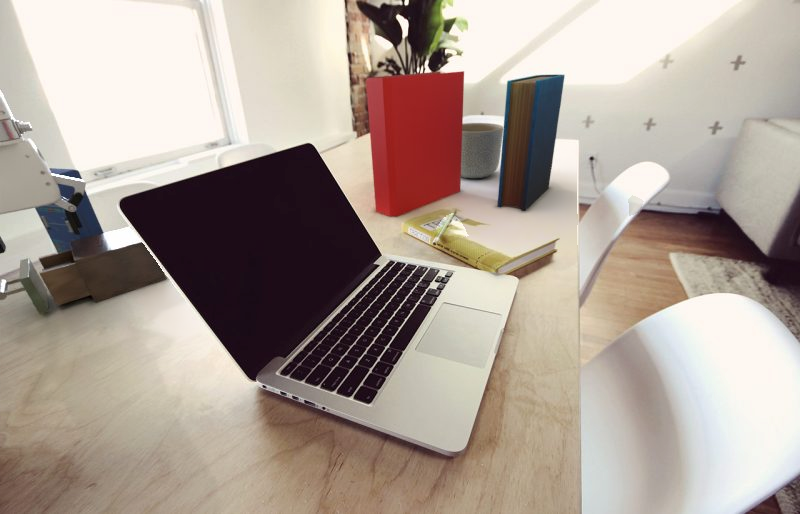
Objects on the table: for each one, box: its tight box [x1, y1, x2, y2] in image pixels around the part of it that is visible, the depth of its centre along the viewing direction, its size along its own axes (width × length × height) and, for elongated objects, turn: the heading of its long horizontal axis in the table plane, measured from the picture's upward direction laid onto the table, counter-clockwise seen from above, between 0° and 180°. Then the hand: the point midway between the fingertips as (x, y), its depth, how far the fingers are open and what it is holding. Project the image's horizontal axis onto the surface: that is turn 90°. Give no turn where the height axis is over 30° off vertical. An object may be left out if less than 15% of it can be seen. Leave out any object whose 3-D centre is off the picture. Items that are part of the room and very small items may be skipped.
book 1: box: [365, 70, 465, 217], centre depth 100 cm, size 27×8×32 cm, turn 135°
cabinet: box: [70, 226, 167, 303], centre depth 72 cm, size 11×10×8 cm
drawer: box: [0, 249, 92, 315], centre depth 66 cm, size 14×9×7 cm, turn 131°
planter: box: [461, 122, 504, 180], centre depth 124 cm, size 17×17×15 cm
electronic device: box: [34, 167, 105, 253], centre depth 75 cm, size 10×5×20 cm, turn 73°
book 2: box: [497, 74, 566, 212], centre depth 101 cm, size 24×9×30 cm, turn 146°
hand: (41, 241), depth 63 cm, fingers open, 9 cm apart
